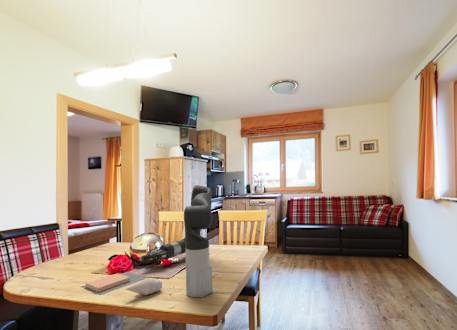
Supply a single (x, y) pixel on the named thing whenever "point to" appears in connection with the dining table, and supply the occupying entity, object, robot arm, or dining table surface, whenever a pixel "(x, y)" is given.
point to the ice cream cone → (146, 286)
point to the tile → (107, 282)
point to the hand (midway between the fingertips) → (142, 258)
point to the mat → (133, 279)
